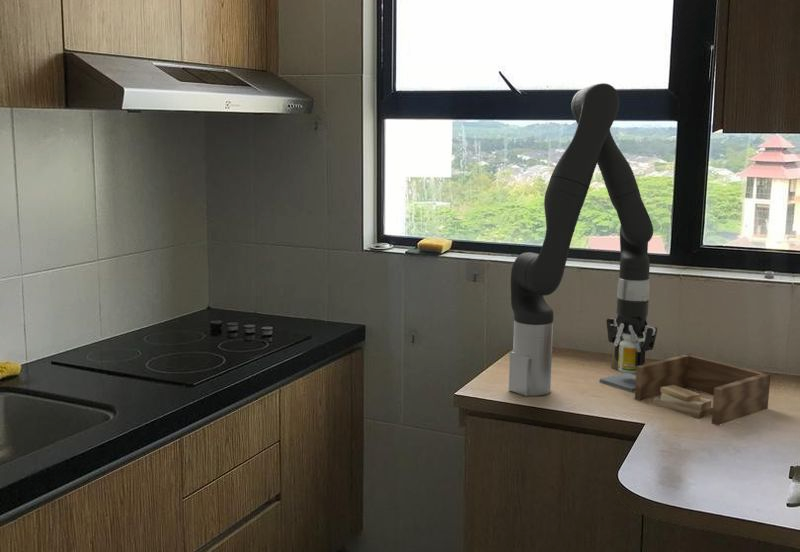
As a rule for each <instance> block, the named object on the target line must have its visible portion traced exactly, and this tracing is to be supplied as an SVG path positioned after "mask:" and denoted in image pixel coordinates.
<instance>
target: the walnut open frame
mask: <svg viewBox="0 0 800 552" xmlns="http://www.w3.org/2000/svg"><path fill="white" fill-rule="evenodd" d="M635 375H636V385H635V391H634V400H636V401H639V402H641V401H644V400H648V399H652V398H656V397H660V396H661V394H662V393H661V392H660V389H661V387H665V386H670V385H675V386H678V387H681V388H684V389H691V390H694V391H696V392H697V391H698V392H702V393H704V394H708V395H711V396H713V400H712V401H713V402H712V408H713V411H712V415H711V416H712V417H711V424H713V425H715V426H720V424H721V425H723V424H726V423H729V422H731V421H736V420H738V419H740V418H743V417H748V416H749V415H753V414H756V413H759V412H761V411H765V410H767V409H768V407H769V399H770V398H769V396H770V387H771V386H770V385H771V384H770V383H771V374H770V373H766V372H762V371H757V370H755V369H754V370H753V369H749V368H745V367H741V366H737V365H734V364H729V363H726V362H722V361H718V360H713V359H709V358H706V357H702V356H697V355H695V354H694V355H693V354H690V353H685V354H681V355H677V356H673V357H669V358H665V359H660V360H657V361H653V362H649V363H644V364H643V365H640V366H637V368H636V373H635Z"/></svg>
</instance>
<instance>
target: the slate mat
mask: <svg viewBox="0 0 800 552" xmlns="http://www.w3.org/2000/svg"><path fill="white" fill-rule="evenodd" d="M599 383H601V384H605V385H608V386H612V387H615V388H617V389H621V390H624V391H628V392H630V393H633V392H634V393H635V385H636V374H634V373H624V372H621V373H619V374H618V373H617V374H614V375H610V376H606V377H602V378H599Z"/></svg>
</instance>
